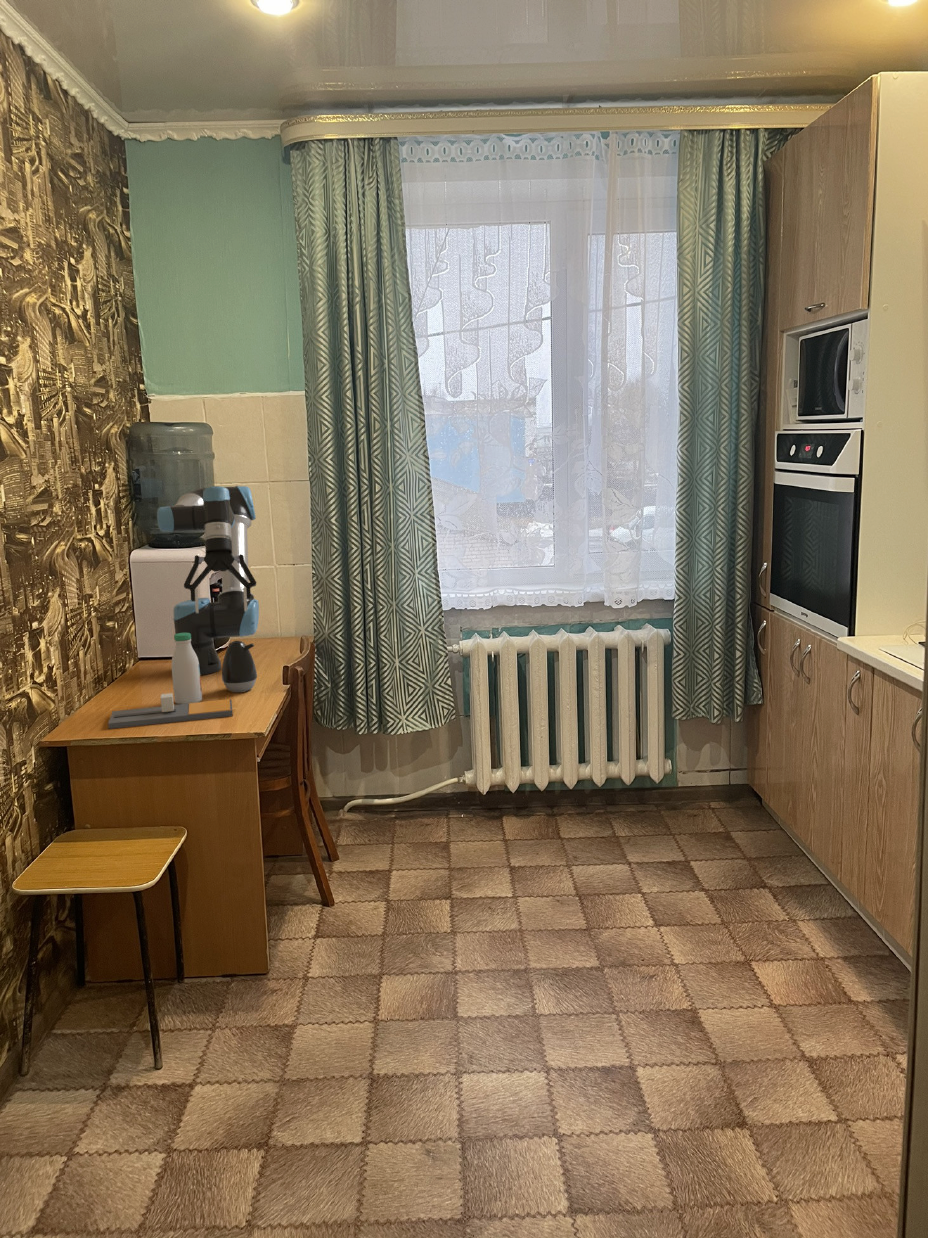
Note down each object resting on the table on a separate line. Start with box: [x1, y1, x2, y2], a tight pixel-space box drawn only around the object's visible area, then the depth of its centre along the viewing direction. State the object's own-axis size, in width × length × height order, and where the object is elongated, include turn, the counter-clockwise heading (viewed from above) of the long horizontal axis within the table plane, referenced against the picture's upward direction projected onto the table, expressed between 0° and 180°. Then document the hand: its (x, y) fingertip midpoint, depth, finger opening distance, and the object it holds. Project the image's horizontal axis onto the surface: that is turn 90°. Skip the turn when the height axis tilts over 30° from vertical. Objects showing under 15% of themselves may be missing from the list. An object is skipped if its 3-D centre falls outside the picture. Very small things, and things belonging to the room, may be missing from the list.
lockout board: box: [107, 698, 234, 730], centre depth 266 cm, size 12×32×2 cm, turn 104°
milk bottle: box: [171, 633, 203, 705], centre depth 278 cm, size 8×8×20 cm
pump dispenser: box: [221, 640, 258, 693], centre depth 289 cm, size 10×10×15 cm
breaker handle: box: [160, 692, 175, 712], centre depth 265 cm, size 4×3×4 cm
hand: (221, 611), depth 279 cm, fingers open, 13 cm apart
